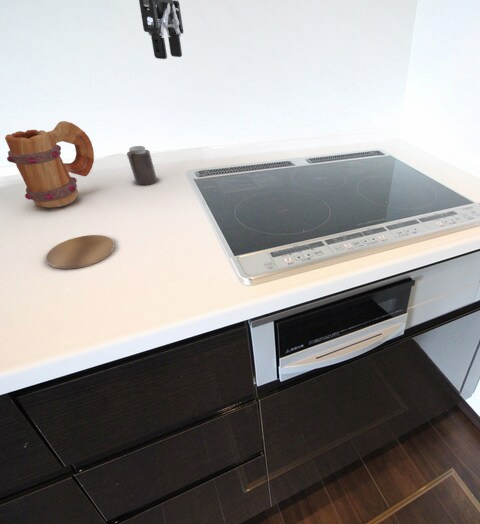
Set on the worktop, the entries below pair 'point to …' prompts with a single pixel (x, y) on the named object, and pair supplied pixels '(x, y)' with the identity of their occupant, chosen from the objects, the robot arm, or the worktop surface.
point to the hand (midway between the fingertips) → (169, 57)
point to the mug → (50, 162)
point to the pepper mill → (141, 165)
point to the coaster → (80, 252)
